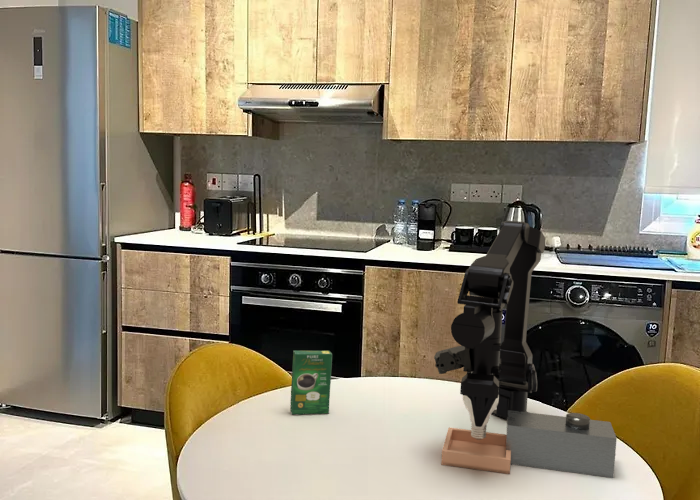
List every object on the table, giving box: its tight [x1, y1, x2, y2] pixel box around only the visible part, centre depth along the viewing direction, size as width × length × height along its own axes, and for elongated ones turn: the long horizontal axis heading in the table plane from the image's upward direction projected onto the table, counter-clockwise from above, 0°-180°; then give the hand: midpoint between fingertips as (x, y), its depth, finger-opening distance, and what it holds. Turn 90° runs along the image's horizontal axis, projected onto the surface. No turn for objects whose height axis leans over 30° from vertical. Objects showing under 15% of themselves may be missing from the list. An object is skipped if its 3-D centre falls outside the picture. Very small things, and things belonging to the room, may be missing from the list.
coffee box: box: [289, 350, 333, 416], centre depth 139 cm, size 8×3×13 cm, turn 102°
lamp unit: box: [505, 410, 618, 479], centre depth 120 cm, size 18×8×9 cm, turn 76°
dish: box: [440, 426, 511, 475], centre depth 121 cm, size 12×12×2 cm
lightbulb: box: [462, 394, 499, 440], centre depth 120 cm, size 6×6×11 cm
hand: (479, 420), depth 121 cm, fingers closed on lightbulb, 6 cm apart
